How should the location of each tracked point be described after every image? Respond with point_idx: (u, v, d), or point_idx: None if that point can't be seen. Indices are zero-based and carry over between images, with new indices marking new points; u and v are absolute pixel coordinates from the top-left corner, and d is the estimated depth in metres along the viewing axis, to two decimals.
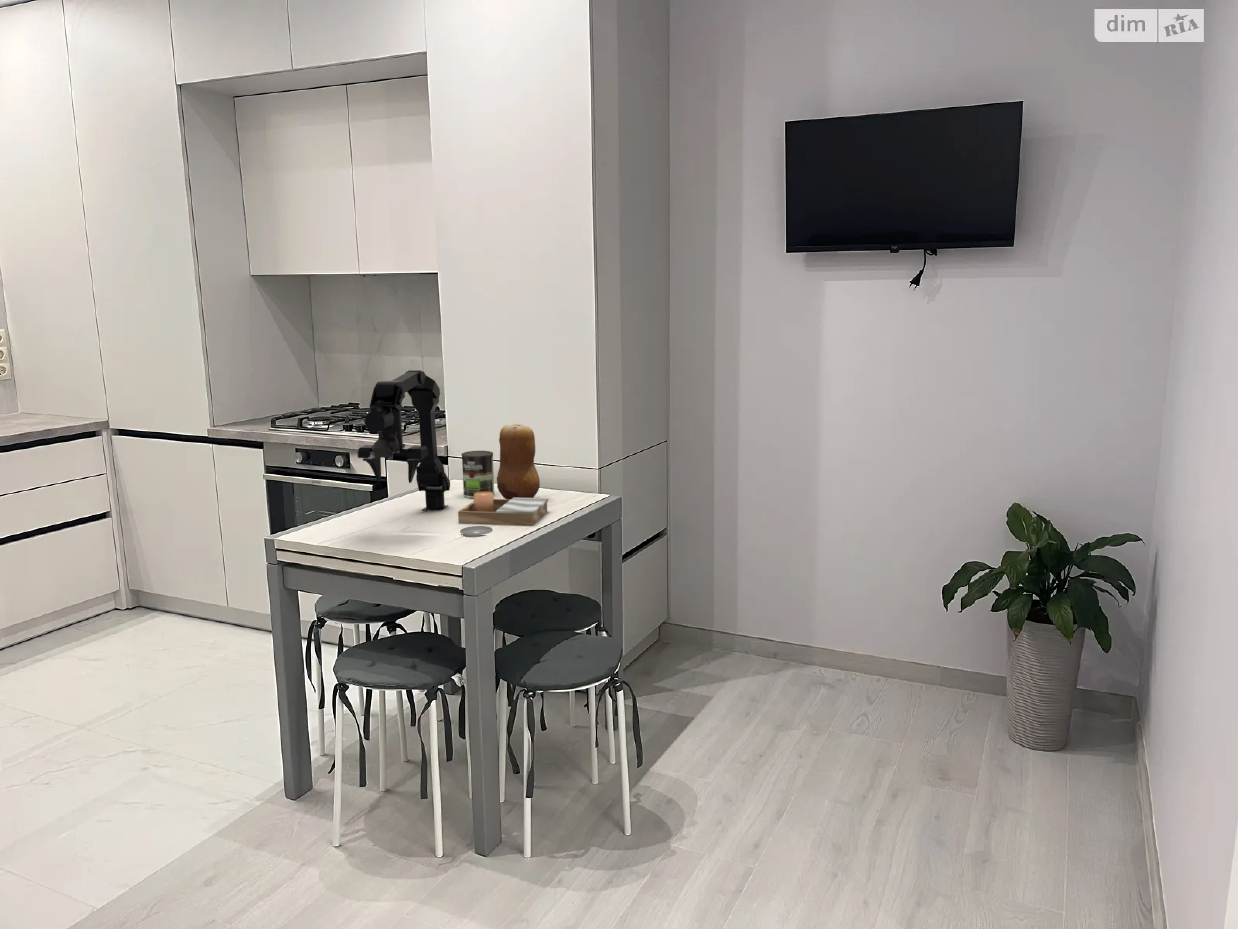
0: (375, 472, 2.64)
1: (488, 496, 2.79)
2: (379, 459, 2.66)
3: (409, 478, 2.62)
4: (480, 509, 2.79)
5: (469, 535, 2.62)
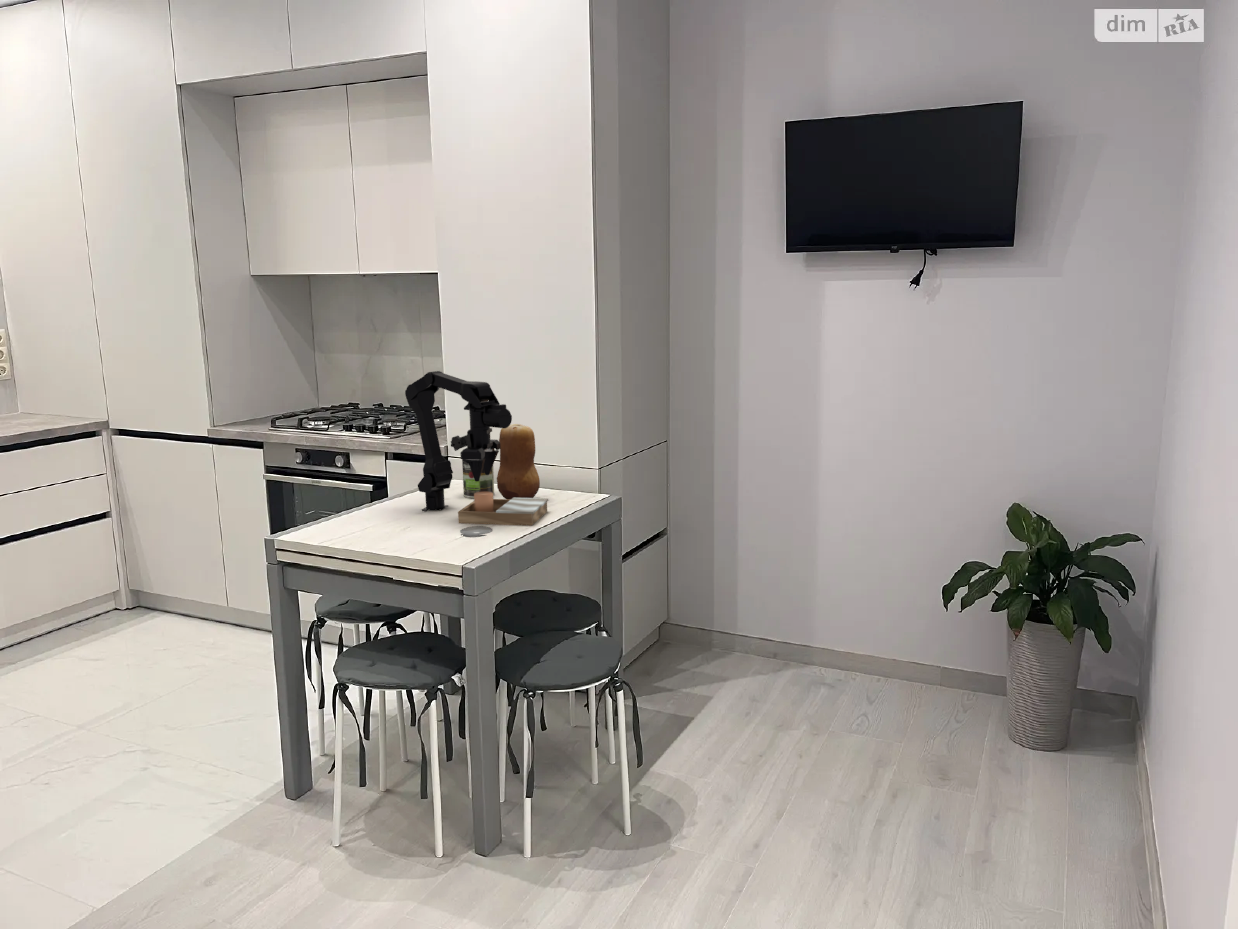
0: None
1: (488, 496, 2.79)
2: (493, 455, 2.83)
3: None
4: (480, 509, 2.79)
5: (469, 535, 2.62)
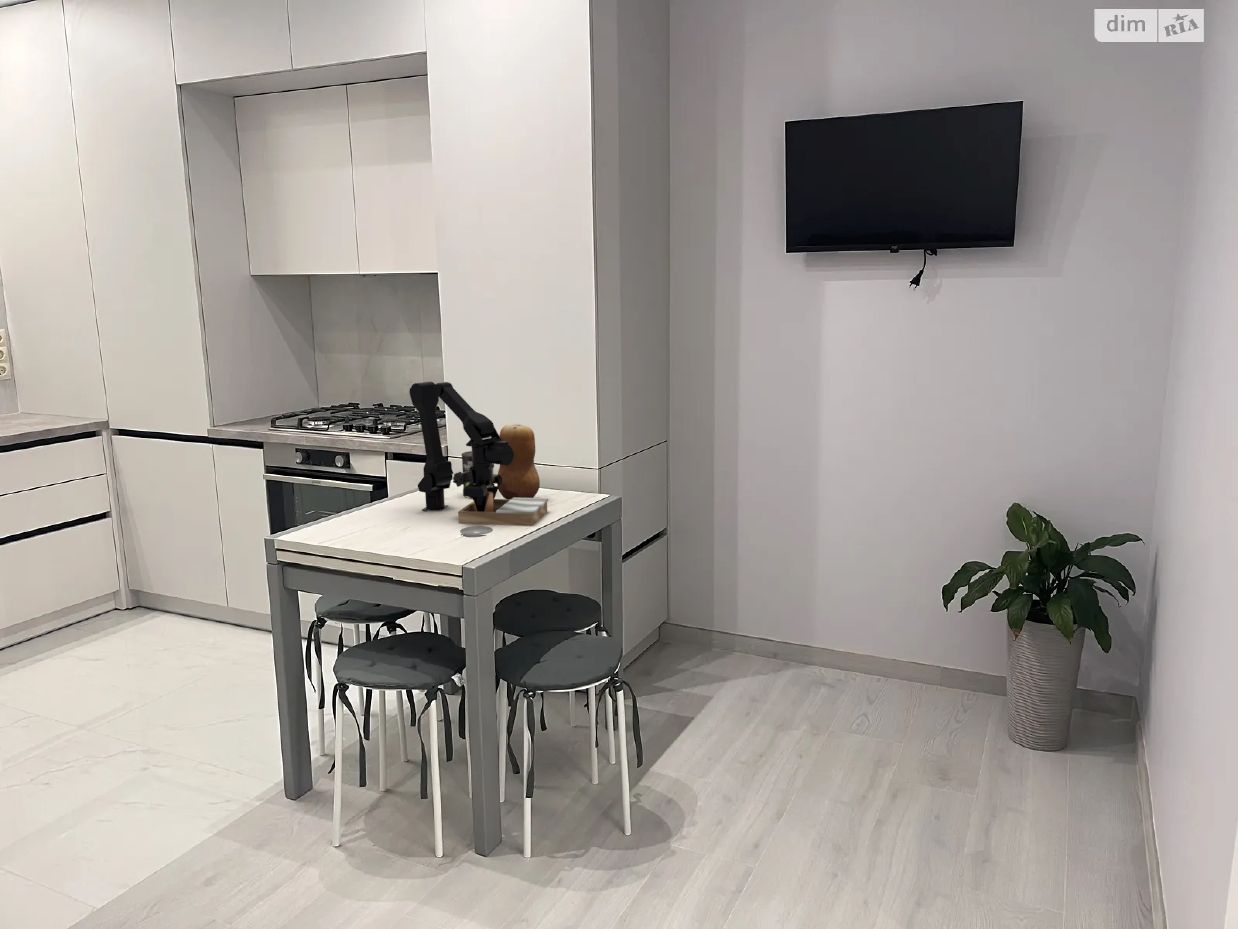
0: None
1: None
2: (493, 491, 2.84)
3: None
4: None
5: (469, 535, 2.62)
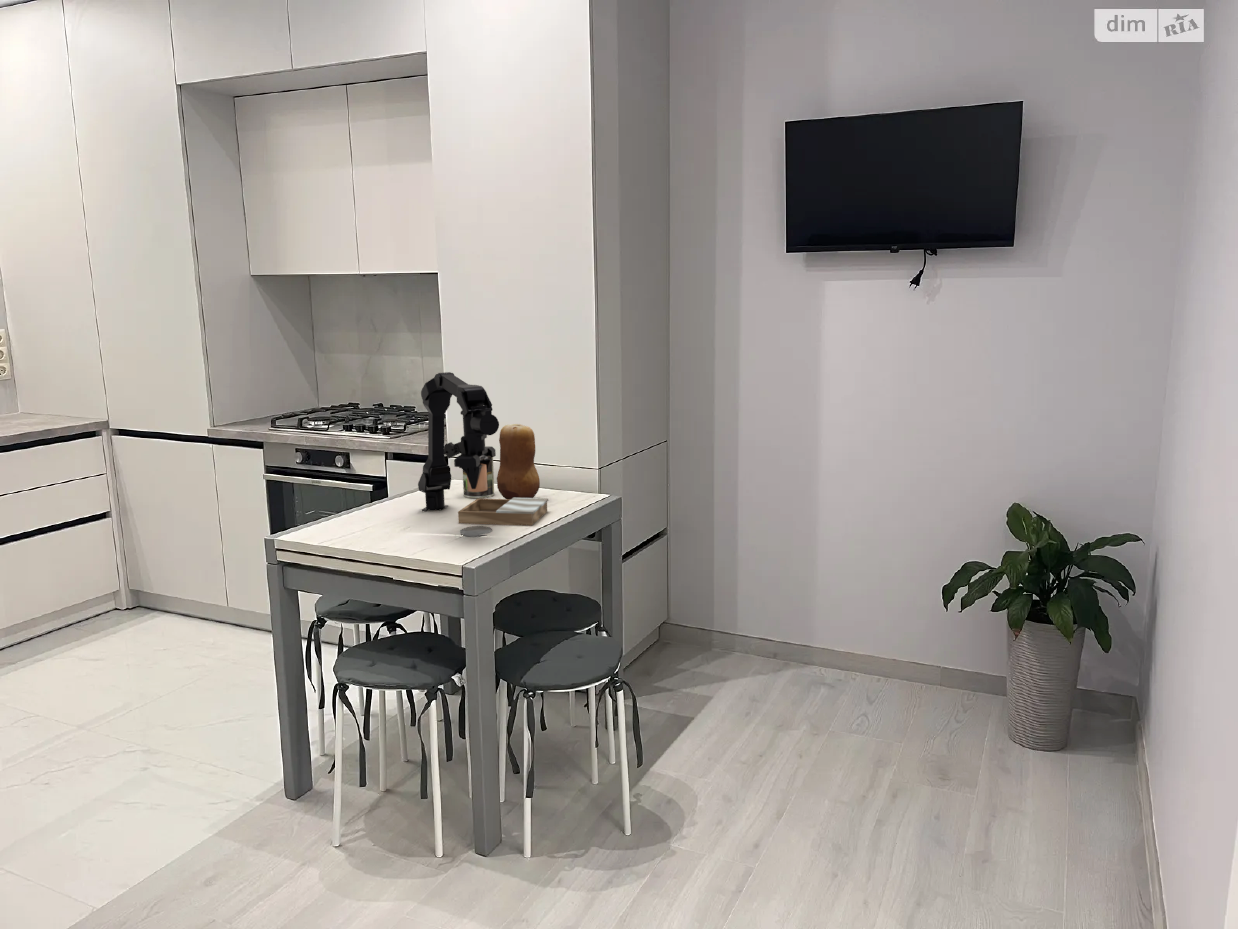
0: None
1: (481, 468, 2.63)
2: (486, 463, 2.68)
3: None
4: None
5: (469, 535, 2.62)
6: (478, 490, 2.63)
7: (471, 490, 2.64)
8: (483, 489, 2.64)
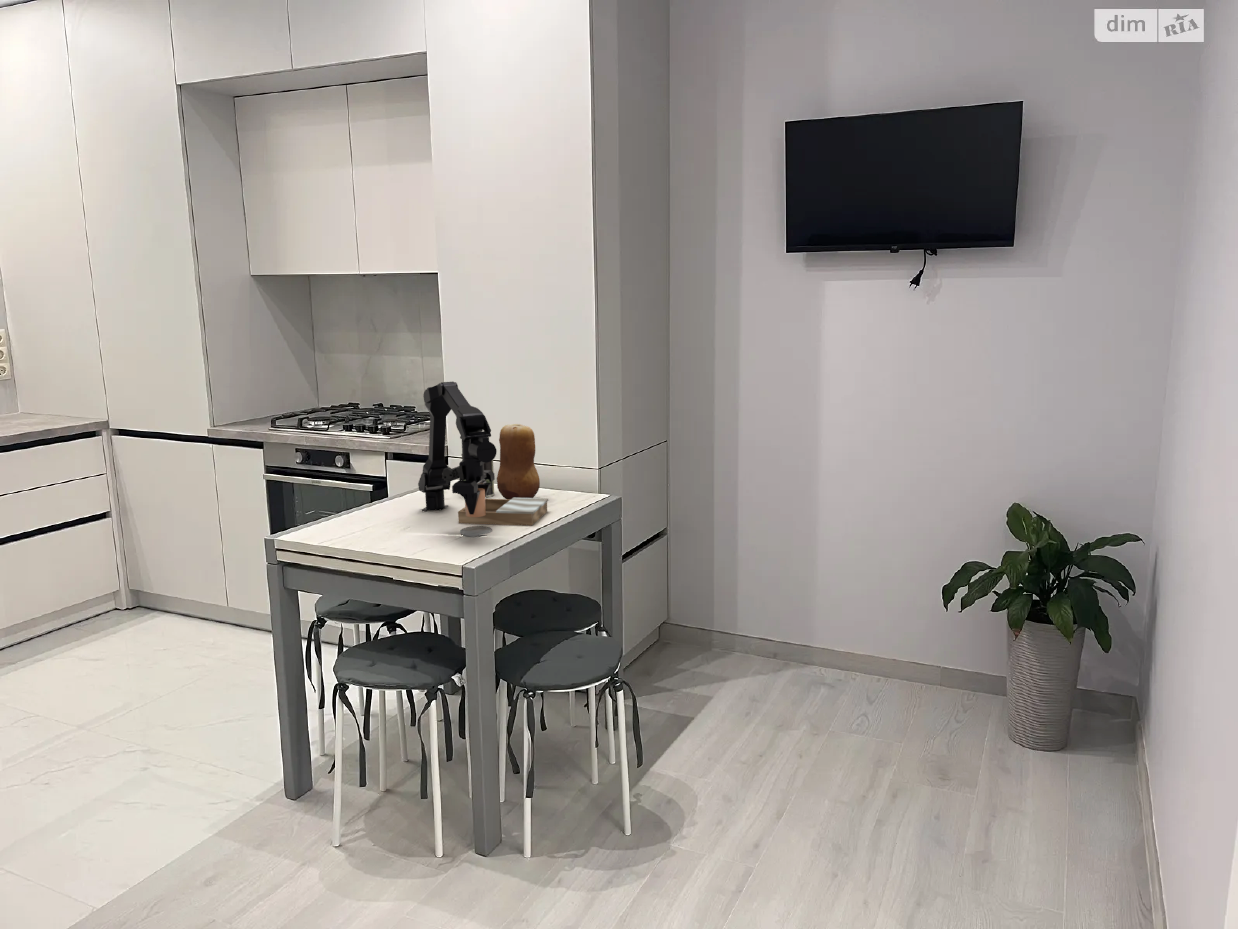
0: None
1: None
2: (484, 488, 2.67)
3: None
4: None
5: (469, 535, 2.62)
6: (476, 515, 2.63)
7: (469, 515, 2.63)
8: (481, 514, 2.63)
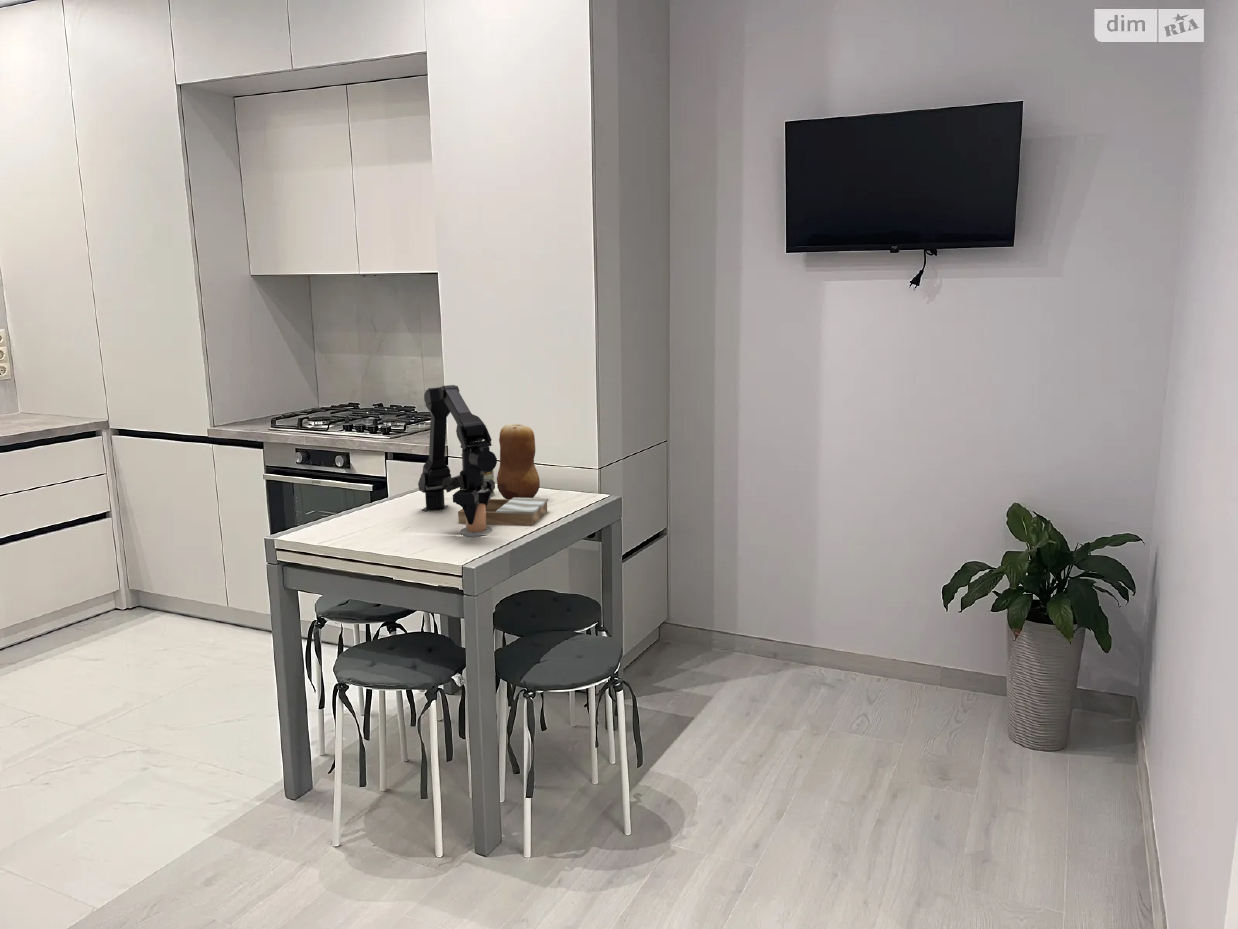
0: None
1: (480, 508, 2.63)
2: (486, 496, 2.69)
3: None
4: None
5: (469, 535, 2.62)
6: (477, 531, 2.63)
7: (470, 531, 2.64)
8: (482, 530, 2.64)
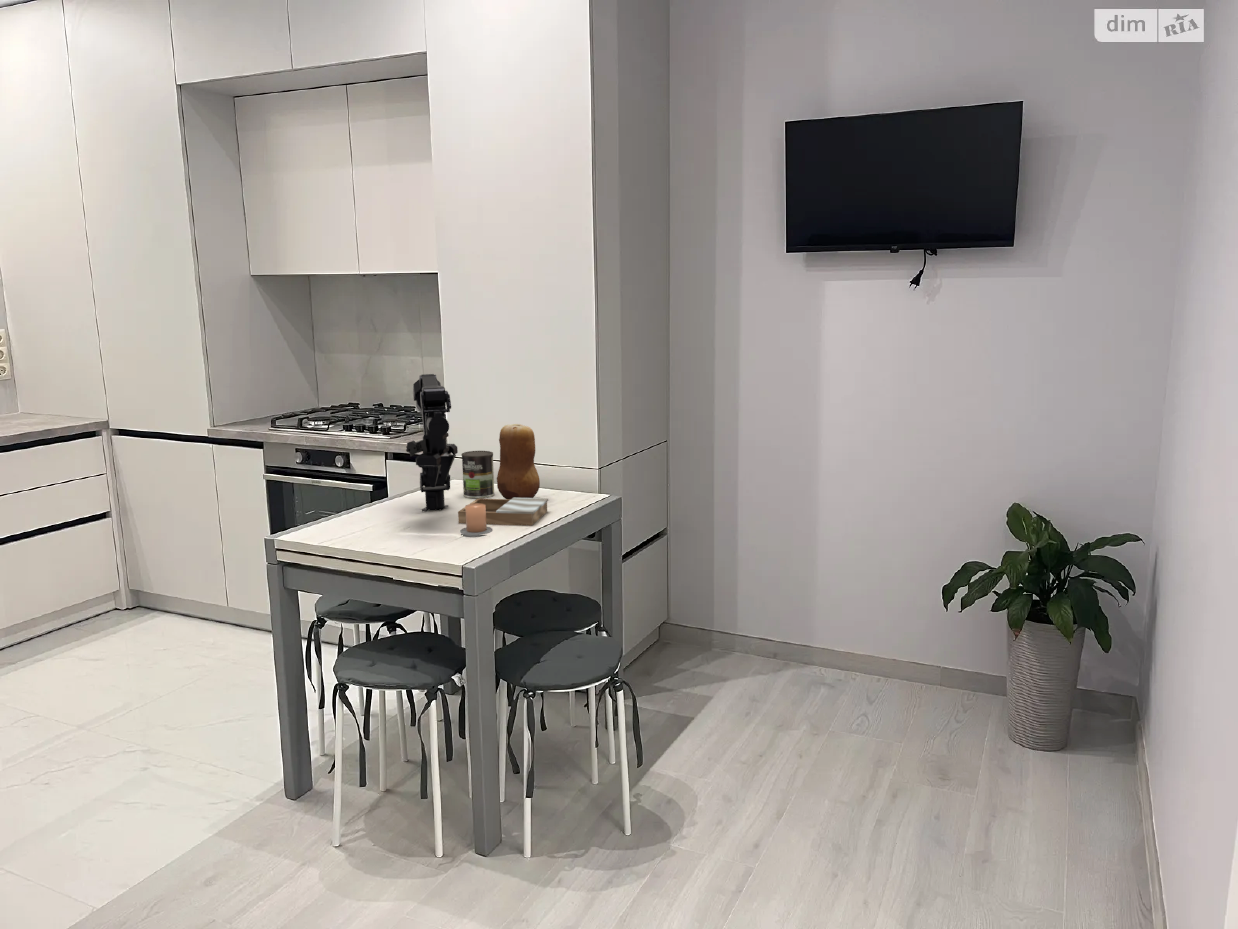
0: None
1: (480, 508, 2.63)
2: (449, 459, 2.80)
3: None
4: (472, 522, 2.63)
5: (469, 535, 2.62)
6: (477, 531, 2.63)
7: (470, 530, 2.64)
8: (482, 530, 2.64)
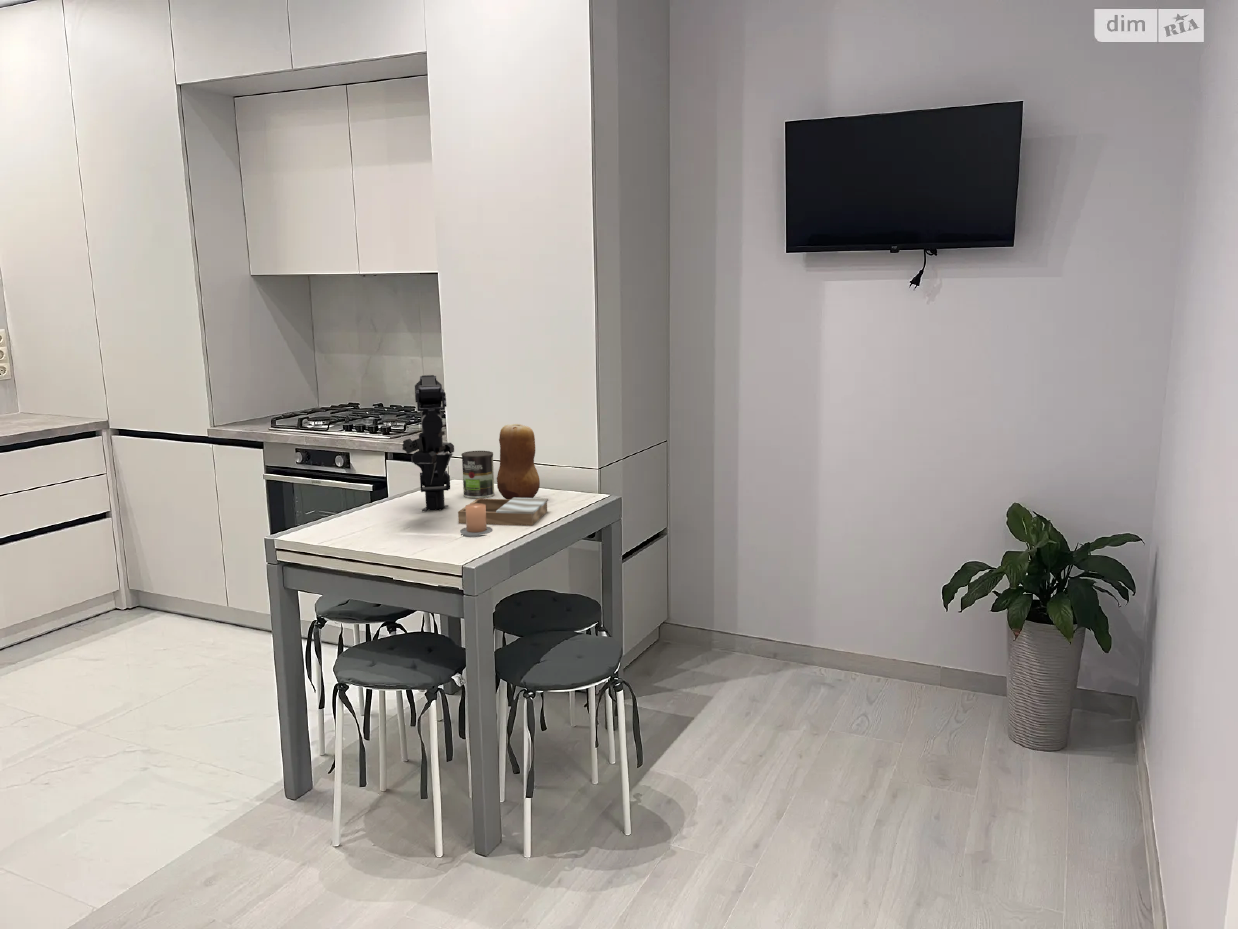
0: None
1: (480, 508, 2.63)
2: (446, 458, 2.81)
3: None
4: (472, 522, 2.63)
5: (469, 535, 2.62)
6: (477, 531, 2.63)
7: (470, 530, 2.64)
8: (482, 530, 2.64)
